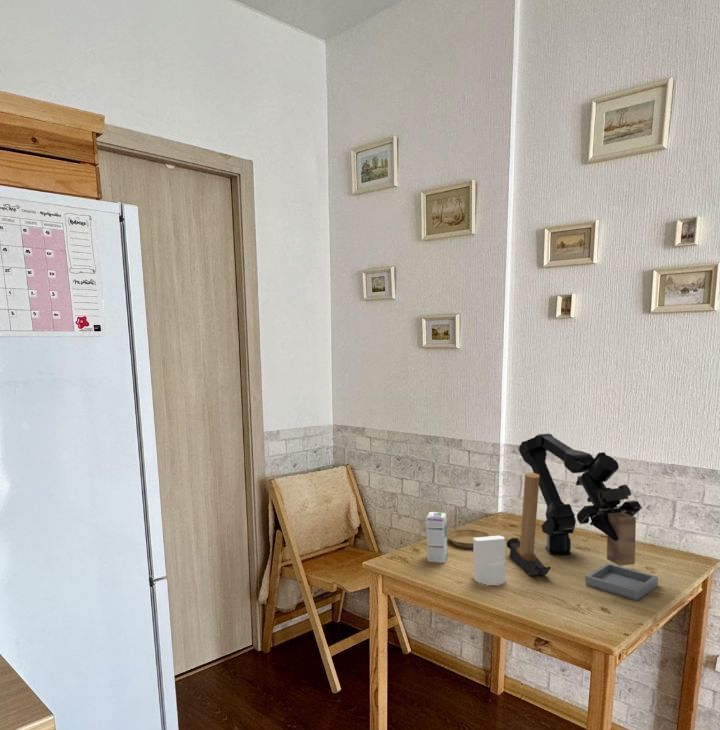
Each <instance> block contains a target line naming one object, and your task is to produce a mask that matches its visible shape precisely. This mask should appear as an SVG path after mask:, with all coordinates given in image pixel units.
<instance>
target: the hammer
mask: <svg viewBox="0 0 720 730" xmlns="http://www.w3.org/2000/svg"><path fill="white" fill-rule="evenodd" d="M539 477H540V475H539V474H536V473H534V472H525V474H524V484H523V485H524V486H523V499H522V501H523V502H522V514H521V526H520V527H521V529H520V539H518V538H516V537H512V538H509V540H507V542H506V547H507V548H508V549H509V556H510V558H511V559H512V560H513V562H514V563H515V564H516V565H517V566H518V567H519V566H520V567H521V568H522V569H523V570H524V571H523V570H522V569H521V568H520V567H519V568H520V569H521V570H522V571H523V572H525V574H526V575H528V574H529V575H528V576H540V575H543V576H544V575H547V574H548V573H549V571H550V569H551V568H552V567H551V566H547V567H546V566H545V564H543V563H542V562H541V560H540V559H539V557H537V556H536V554H535V552H534V551H535V541H536V539H535V538H536V528H537V526H536V525H537V517H538V516H537V515H538V513H537V512H538V504H539V503H538V502H539V499H538V498H539V489H540V487H539Z"/></svg>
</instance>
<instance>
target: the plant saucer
mask: <svg viewBox="0 0 720 730" xmlns="http://www.w3.org/2000/svg"><path fill="white" fill-rule="evenodd" d="M488 536H491V535H490V534H489V533H487V532H485V531H482V530H477V529H471V528H469V529H467V528H466V529H457V530H455V529H454V530H452V531H449V532H447V539H448V540H449V541H450V542H451V543H452V544H454V545H455V546H457V547H460V548H463V549H464V548H465V549H466V548H467V549H473V538H476V537H488Z"/></svg>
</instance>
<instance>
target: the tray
mask: <svg viewBox="0 0 720 730" xmlns="http://www.w3.org/2000/svg"><path fill="white" fill-rule="evenodd" d="M584 577H585V578H584V579H585V586H587V587H590V588H593V589H598V590H601V591H604V592H607V593H610V594H613V595H617V596H620V597H623V598H627V599H629V600H633V601H635V602H639V601H640V600H641V599H643V598H644V597H646V596H647V595H648V594H649V593H651V591H653V590H654V589H655V588H657V587H658V586H659V576H657V575H653V574H650V573H646V572H641V571H639V570H636V569H635V570H634V569H632V568H631V569H630V568H627V567H623V566H619V565H617V564H613V563H608V562H606V563H604V564H603V565H602V566H600V567H598V568H597V569H595V570H593V571H592V572H590V573H588V574H587V575H585V576H584Z"/></svg>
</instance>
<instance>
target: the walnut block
mask: <svg viewBox="0 0 720 730" xmlns="http://www.w3.org/2000/svg"><path fill="white" fill-rule="evenodd" d="M608 519H609V522H610V524H611V526H612V528H613V529H614V531H615V533H616V535H617V538H618V540H617V541H614V540H613V539H611V538H610V537H609V536H608V535H606V536H607V539H606V544H607V545H606V560H608V561H610V562H611V563H612V564H613V563H614V565H617V566H620V567H623V566H630V565H635V564H636V535H637V534H636V531H637V528H636V526H637V525H636V524H637V517H636V516H631V515H628V514H625V513H623V512H621V513H608Z"/></svg>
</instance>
